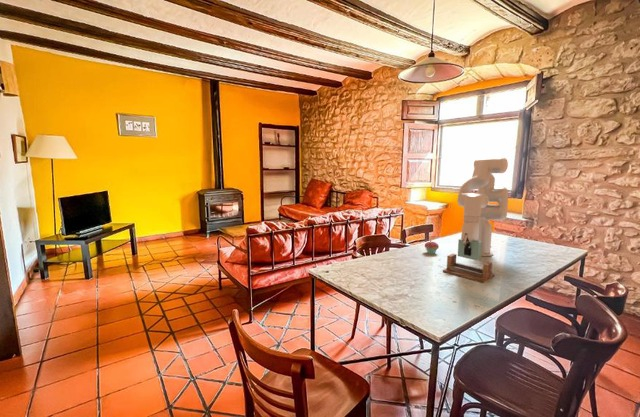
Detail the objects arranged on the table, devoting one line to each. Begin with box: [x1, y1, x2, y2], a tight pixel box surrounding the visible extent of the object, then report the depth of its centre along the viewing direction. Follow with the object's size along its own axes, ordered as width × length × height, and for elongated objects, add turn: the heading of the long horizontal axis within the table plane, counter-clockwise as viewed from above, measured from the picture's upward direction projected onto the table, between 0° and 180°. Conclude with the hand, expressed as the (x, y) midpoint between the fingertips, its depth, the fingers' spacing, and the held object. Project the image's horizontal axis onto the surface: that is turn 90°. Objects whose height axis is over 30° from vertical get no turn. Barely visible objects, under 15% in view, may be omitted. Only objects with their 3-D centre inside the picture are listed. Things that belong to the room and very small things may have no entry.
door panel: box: [457, 238, 482, 261], centre depth 152 cm, size 4×10×9 cm, turn 40°
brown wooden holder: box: [442, 253, 495, 284], centre depth 154 cm, size 14×20×8 cm
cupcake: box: [424, 235, 440, 255], centre depth 190 cm, size 9×8×12 cm
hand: (469, 253), depth 152 cm, fingers closed on door panel, 4 cm apart
